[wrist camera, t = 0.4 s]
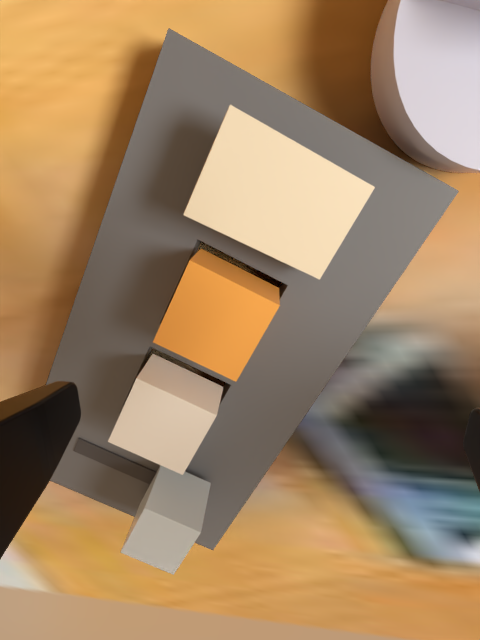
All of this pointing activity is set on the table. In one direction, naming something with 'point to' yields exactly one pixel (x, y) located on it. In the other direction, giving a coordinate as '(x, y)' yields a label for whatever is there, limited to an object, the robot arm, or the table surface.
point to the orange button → (217, 315)
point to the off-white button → (167, 414)
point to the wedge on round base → (430, 80)
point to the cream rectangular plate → (276, 195)
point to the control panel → (186, 235)
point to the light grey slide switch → (168, 520)
